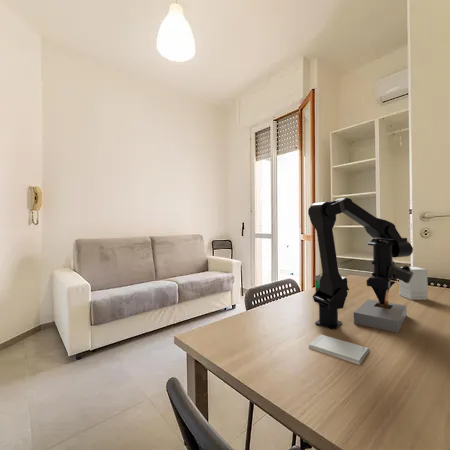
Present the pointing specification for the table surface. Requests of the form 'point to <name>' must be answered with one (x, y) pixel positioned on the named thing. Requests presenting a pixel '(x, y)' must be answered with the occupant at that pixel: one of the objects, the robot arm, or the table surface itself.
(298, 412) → the table surface
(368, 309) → the grey block with hole
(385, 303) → the pin
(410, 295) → the supplement box
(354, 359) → the hard drive
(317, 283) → the food container
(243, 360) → the table surface
